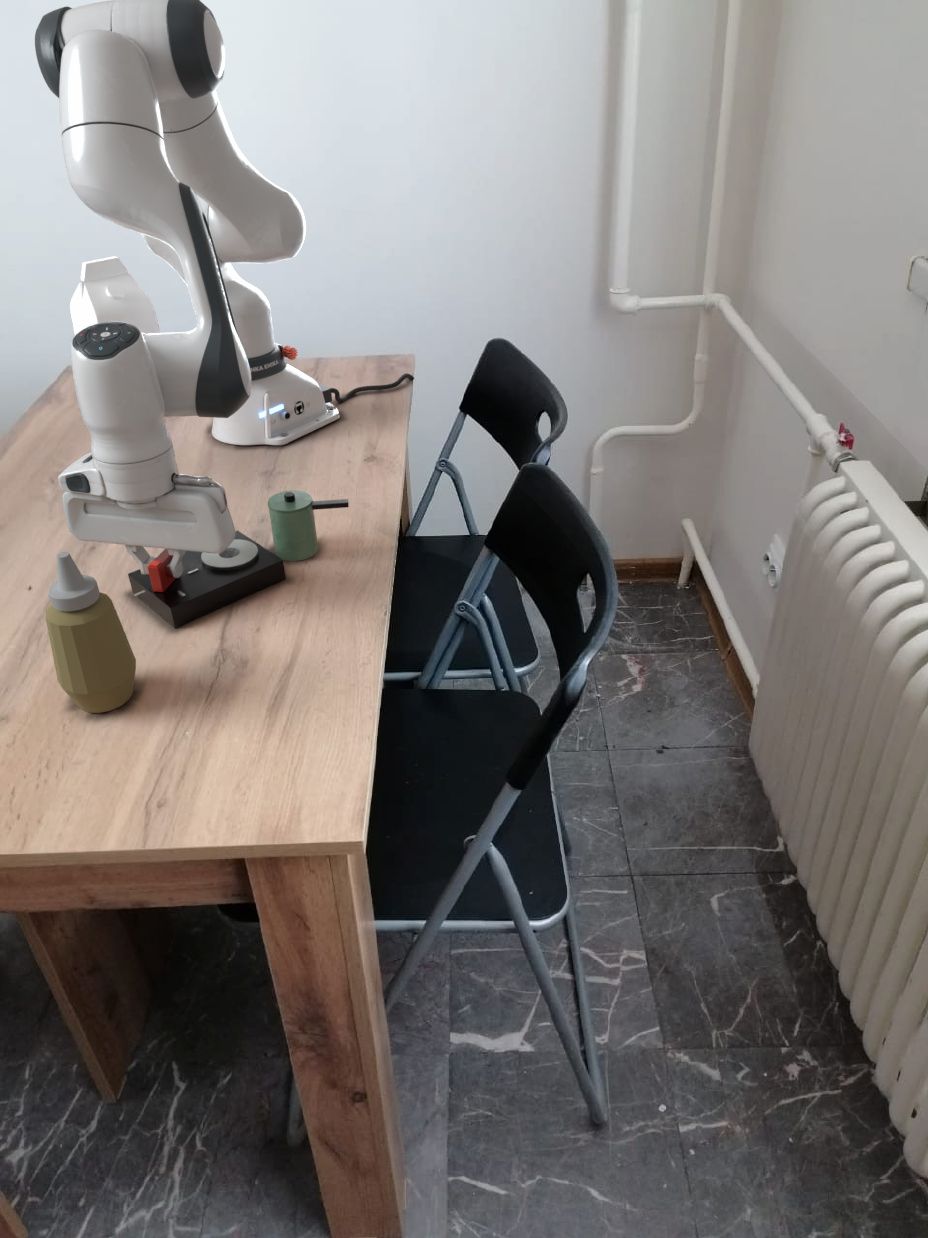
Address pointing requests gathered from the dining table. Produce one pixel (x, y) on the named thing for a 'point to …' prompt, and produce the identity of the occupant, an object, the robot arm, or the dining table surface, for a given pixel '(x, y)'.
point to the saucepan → (296, 523)
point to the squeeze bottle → (88, 641)
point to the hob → (207, 586)
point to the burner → (231, 556)
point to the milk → (111, 298)
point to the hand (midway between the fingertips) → (162, 573)
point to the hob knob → (160, 572)
